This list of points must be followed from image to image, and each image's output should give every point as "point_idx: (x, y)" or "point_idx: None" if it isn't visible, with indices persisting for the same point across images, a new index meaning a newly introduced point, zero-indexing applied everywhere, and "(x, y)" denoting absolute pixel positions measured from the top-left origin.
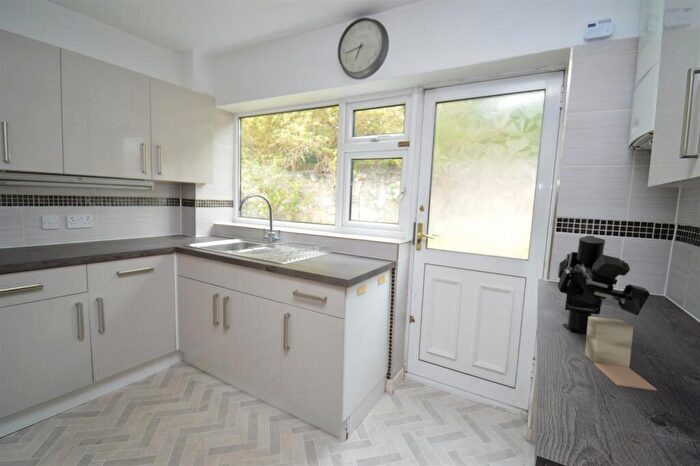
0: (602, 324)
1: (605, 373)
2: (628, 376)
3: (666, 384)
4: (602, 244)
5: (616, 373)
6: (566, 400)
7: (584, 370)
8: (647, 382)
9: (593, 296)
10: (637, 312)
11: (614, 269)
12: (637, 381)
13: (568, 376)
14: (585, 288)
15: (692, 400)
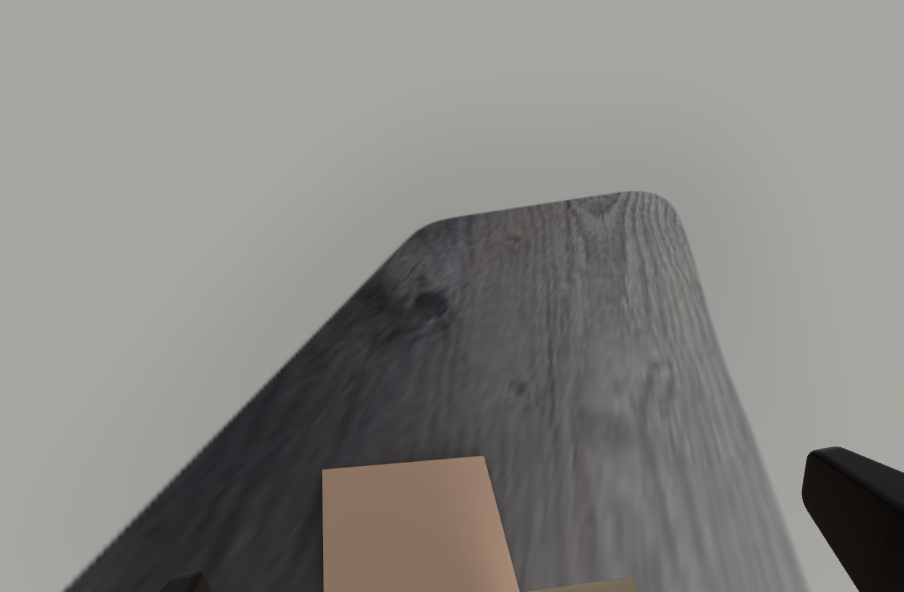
0: (595, 587)
1: (508, 554)
2: (396, 564)
3: None
4: None
5: (449, 579)
6: (651, 325)
7: None
8: (326, 527)
9: (889, 496)
10: (207, 581)
11: None
12: (374, 519)
13: (665, 480)
14: None
15: (203, 455)
